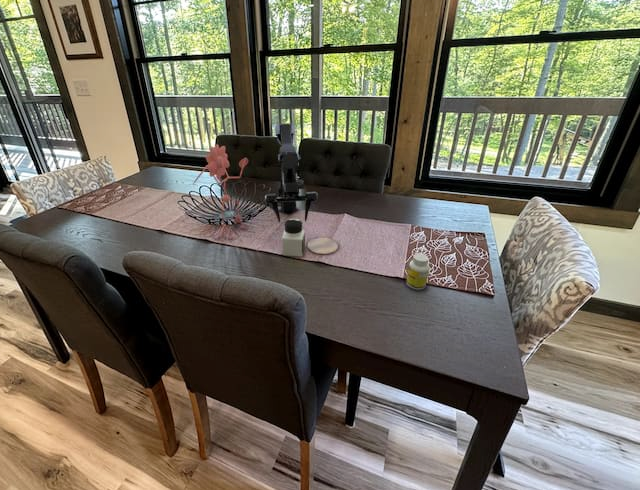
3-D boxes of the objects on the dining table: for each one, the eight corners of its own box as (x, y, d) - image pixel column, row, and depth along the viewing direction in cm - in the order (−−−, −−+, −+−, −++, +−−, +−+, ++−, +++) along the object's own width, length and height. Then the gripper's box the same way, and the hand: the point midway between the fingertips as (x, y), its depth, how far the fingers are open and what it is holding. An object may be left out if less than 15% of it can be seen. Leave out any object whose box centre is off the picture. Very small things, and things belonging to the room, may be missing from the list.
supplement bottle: (402, 279, 95) (407, 252, 90) (420, 278, 95) (425, 251, 91) (410, 291, 90) (416, 263, 86) (429, 289, 90) (435, 261, 86)
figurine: (258, 221, 134) (251, 138, 118) (218, 250, 114) (204, 156, 98) (230, 214, 141) (220, 135, 125) (188, 240, 122) (170, 151, 105)
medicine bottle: (302, 257, 108) (302, 226, 102) (282, 255, 109) (280, 225, 104) (305, 246, 114) (305, 217, 109) (286, 245, 115) (284, 216, 110)
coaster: (301, 247, 114) (301, 246, 113) (319, 235, 121) (319, 234, 120) (326, 258, 107) (326, 257, 107) (343, 245, 114) (343, 244, 114)
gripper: (263, 172, 107) (265, 215, 102) (317, 170, 107) (321, 212, 102) (265, 186, 117) (266, 225, 113) (314, 183, 118) (318, 223, 113)
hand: (292, 221), depth 110 cm, fingers open, 9 cm apart
